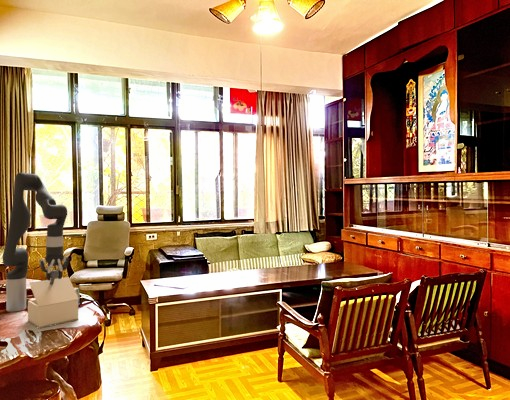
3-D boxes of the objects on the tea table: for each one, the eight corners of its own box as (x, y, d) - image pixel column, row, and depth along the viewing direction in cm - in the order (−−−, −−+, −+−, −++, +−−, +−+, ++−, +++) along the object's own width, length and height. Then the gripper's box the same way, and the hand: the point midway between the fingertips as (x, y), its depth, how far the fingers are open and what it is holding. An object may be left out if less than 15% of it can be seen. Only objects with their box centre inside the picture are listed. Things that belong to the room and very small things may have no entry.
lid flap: (29, 283, 190) (32, 269, 186) (68, 277, 203) (72, 264, 199) (38, 307, 181) (42, 293, 177) (78, 299, 194) (83, 286, 191)
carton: (27, 320, 192) (27, 300, 192) (65, 313, 205) (65, 294, 205) (39, 328, 181) (39, 307, 181) (78, 319, 194) (78, 299, 194)
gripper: (66, 243, 199) (66, 276, 200) (36, 245, 189) (35, 280, 189) (72, 244, 194) (72, 278, 195) (41, 247, 184) (41, 283, 184)
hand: (54, 279), depth 192 cm, fingers closed on lid flap, 4 cm apart
